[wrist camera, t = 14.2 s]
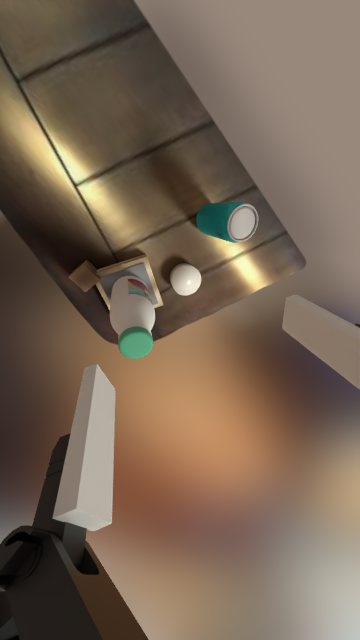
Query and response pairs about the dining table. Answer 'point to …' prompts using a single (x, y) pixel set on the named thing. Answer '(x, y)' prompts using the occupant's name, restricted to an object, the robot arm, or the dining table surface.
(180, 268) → the white rounded block
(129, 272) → the wooden picture frame
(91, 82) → the dining table surface
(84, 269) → the tan wooden block
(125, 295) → the milk bottle
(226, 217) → the beverage can
